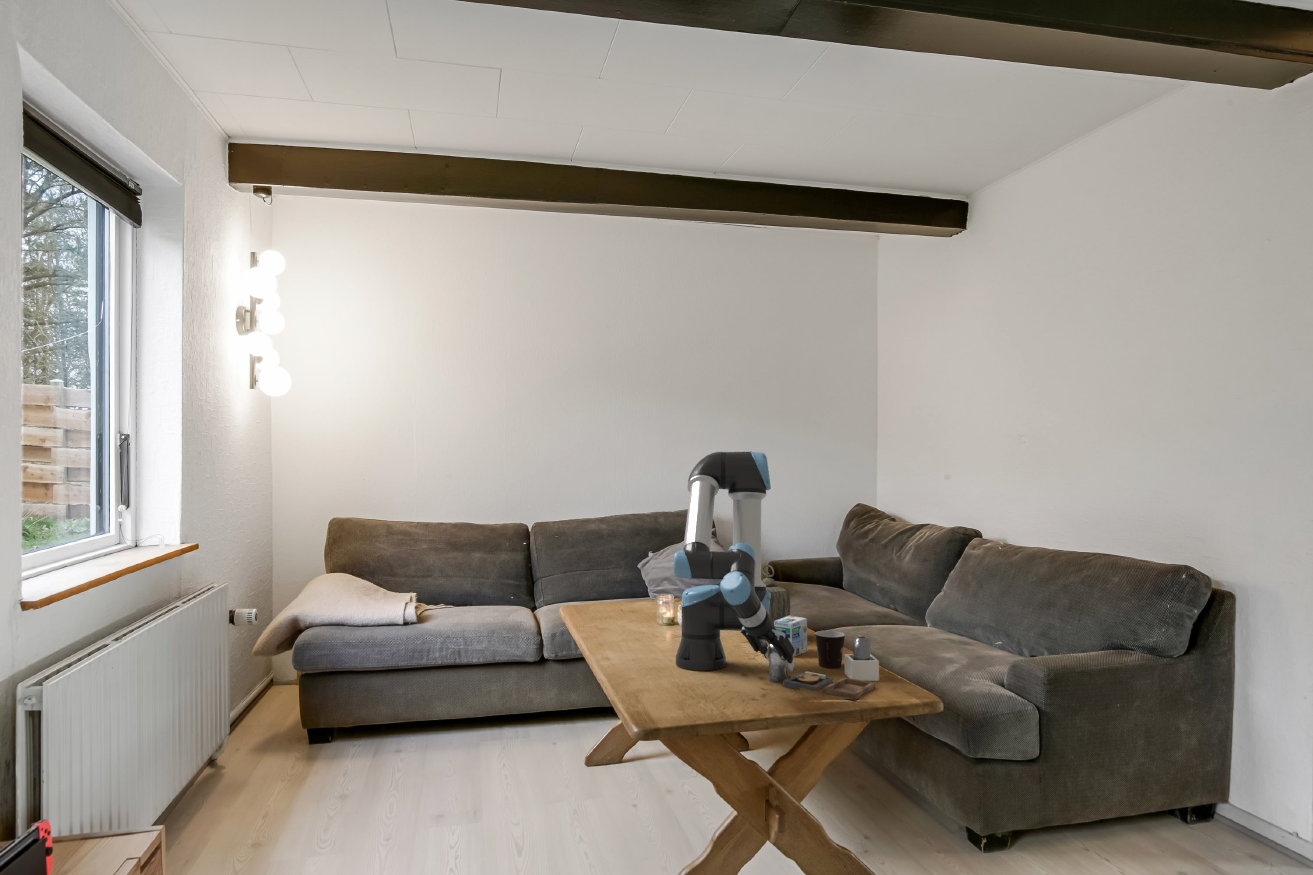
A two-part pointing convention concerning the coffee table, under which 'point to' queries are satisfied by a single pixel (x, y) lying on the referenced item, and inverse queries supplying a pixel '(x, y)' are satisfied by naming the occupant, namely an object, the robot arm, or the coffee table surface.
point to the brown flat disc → (808, 678)
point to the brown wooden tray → (849, 688)
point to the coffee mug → (830, 648)
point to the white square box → (862, 668)
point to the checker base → (795, 684)
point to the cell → (776, 666)
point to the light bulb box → (794, 632)
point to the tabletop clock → (776, 598)
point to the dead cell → (861, 647)
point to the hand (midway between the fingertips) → (783, 665)
